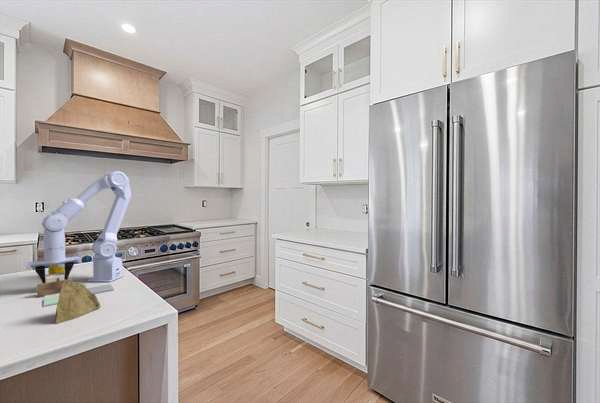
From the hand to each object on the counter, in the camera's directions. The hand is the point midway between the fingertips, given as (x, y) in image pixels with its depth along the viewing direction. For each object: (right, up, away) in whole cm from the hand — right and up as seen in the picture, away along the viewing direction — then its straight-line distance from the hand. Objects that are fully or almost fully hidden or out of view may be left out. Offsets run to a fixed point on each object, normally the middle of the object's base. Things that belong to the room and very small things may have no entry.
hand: (55, 284), depth 98 cm
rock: (+25, -3, -20) cm, 32 cm away
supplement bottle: (-12, -1, +15) cm, 19 cm away
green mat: (+11, -2, -10) cm, 15 cm away
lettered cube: (0, -1, 0) cm, 1 cm away
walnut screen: (+4, -2, -4) cm, 6 cm away
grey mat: (+17, -2, -1) cm, 17 cm away
